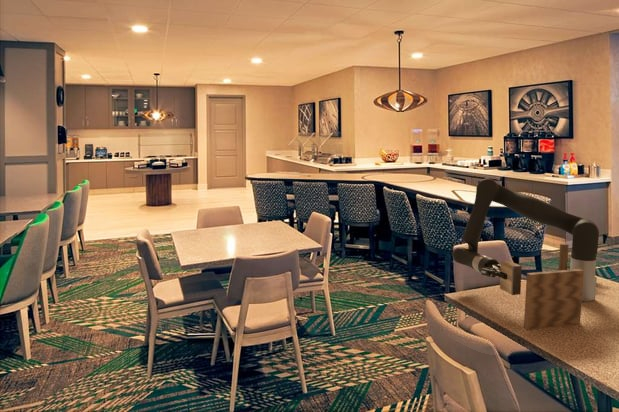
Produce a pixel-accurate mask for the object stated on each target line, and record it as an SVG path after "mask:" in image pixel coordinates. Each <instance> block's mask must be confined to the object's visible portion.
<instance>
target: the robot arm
mask: <svg viewBox="0 0 619 412" xmlns="http://www.w3.org/2000/svg"><path fill="white" fill-rule="evenodd" d="M475 191H476V193H475V198H474V203H473V207H472V210H471V213H470V215H469V218H468V221H467V222H466V227H465V230H464V232H463V234H462V239H461V240H462V242H463V243H466V245H467V246H468V248H467V247H466V248H465V247H461V246H458V247H456V248H454V250H453V251H452V258H453V260H454V261H455V263H458V264H460V265H463V266H465V267H469V268H471V269H473V270H474V271H477V272H478V273H479V274H481V275H482V276H485V277H486V276H487V277H488V278H499V279H500V278H503V279H505V280H506V279H507V274H506V273H504V272H501V271H500V270H501V263H499V261H498V260H497V259H495V258H493V257H490V256H487V255H484V254H482V253H479V252H478V251H479V250H478V249H479V241H480V238H481V235H482V233H483V230H484V225H485V221H486V218H487V214H488V211H489V209H490V206H491V204H492V202H493V203H496V204H499V205H502V206H504V207H506V208H508V209H510V210H511V211H513V212H515V213H516V214H519V216H520V215H521V216H523V217H524V218H527V219H529V220H531V221H533V222H536V223H539V224H543V225H546V226H550V227H555V228H558V229H560V230H562V231H564V232H566V233H568V234H570V235H571V236H572V242H571V250H570V264H569V265H570V268H569V270H573V269H581V270H584V277H583V290H582V302H585V303H586V302H587V303H588V302H592V301H594V300H596V295H597V294H596V293H597V280H598V278H597V277H596V266H597V255H598V251H599V250H598V249H599V240H600V239H599V236H600V232H599V228H598V226H597V224H596V223H595V222H594V221H593V220H590V219H587V218H584V217H580V216H577V215H574V214H571V213H568V212H566V211H564V210H562V209H560V208H558V207H556V206H554V205H553V204H550V203H549V202H546V201H544V200H541V199H539V198H537V197H535V196H532V195H527V194H525V193H522V192H521V193H520V192H517V191H513V190H511V189H509V188H507V187H504V186H503V185H501V184H499V183H498V182H497V181H496V180H494V179H492V178H484V179H481V180H480V181H479V182H478V183H477V184H476V189H475Z"/></svg>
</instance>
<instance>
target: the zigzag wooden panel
mask: <svg viewBox="0 0 619 412" xmlns="http://www.w3.org/2000/svg"><path fill="white" fill-rule="evenodd" d="M583 277H584V270H581V269H573V270H570V269H567V270H561V271H558V270H551V271H549V270H548V271H536V272H526V280H525V281H526V282H525V283H526V284H525V298H524V299H525V300H524V302H525V303H524V318H523V319H524V320H523V328H525V329H527V330H533V329H542V328H543V329H544V328H550V327H561V326H569V325H579V324H581V317H582V316H581V315H582V314H581V313H582V302H583V301H582V290H583Z"/></svg>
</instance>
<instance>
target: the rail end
mask: <svg viewBox="0 0 619 412" xmlns="http://www.w3.org/2000/svg"><path fill="white" fill-rule="evenodd" d="M500 265H501V270H500V271H501V272H504V273H506V274H507V279H506V280H505V279H503V278H500V277H499V289H500V290H501V291H504V292H505V293H506V294H507V293H508V294H510V295H511V296H517V295H521V293H522V292H521V291H522V267H523V266H522V265H520V264H518V263H515V262H513V261H510V260H503V261H501V260H500Z"/></svg>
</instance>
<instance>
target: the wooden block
mask: <svg viewBox="0 0 619 412" xmlns="http://www.w3.org/2000/svg"><path fill="white" fill-rule="evenodd" d="M569 246H570V245H569V244H568V243H563V242H562V243H560V244H559V255H558V268H557V269H558V270H557V271H561V270H568V269H570V264H569V265H568V262H569V261H568V259H569Z"/></svg>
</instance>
